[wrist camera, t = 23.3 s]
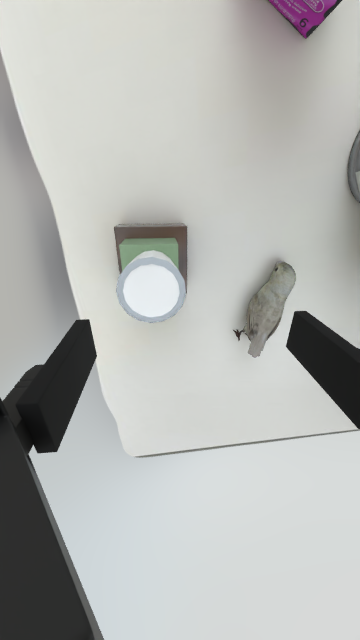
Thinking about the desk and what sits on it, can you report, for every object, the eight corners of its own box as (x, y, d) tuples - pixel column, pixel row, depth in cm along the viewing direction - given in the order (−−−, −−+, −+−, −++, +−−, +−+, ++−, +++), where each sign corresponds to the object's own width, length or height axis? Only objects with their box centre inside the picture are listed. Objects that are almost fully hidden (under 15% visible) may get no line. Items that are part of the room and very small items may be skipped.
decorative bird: (292, 264, 41) (318, 276, 34) (251, 338, 47) (267, 360, 41) (266, 255, 40) (288, 265, 33) (228, 332, 46) (240, 354, 39)
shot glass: (125, 297, 30) (117, 322, 24) (124, 242, 27) (114, 254, 20) (178, 299, 31) (183, 324, 24) (182, 246, 27) (189, 259, 21)
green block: (124, 238, 32) (118, 244, 27) (175, 237, 32) (178, 243, 27) (130, 286, 35) (125, 300, 30) (175, 285, 35) (178, 298, 30)
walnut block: (119, 224, 35) (113, 227, 31) (183, 223, 36) (187, 226, 32) (126, 286, 40) (122, 296, 35) (183, 284, 41) (186, 294, 36)
